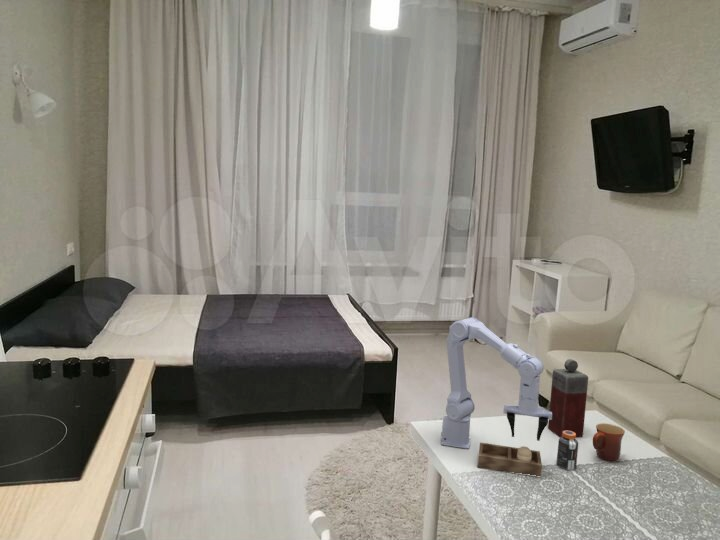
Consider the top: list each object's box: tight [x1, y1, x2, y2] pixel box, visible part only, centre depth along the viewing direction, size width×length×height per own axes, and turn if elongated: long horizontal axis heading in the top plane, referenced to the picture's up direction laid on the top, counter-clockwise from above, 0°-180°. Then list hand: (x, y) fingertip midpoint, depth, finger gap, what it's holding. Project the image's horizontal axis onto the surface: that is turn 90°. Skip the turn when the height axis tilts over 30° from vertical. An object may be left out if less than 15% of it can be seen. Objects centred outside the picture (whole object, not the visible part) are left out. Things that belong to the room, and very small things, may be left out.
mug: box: [592, 422, 626, 463], centre depth 176 cm, size 12×9×10 cm
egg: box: [517, 445, 532, 462], centre depth 168 cm, size 4×4×6 cm
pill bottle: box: [556, 430, 579, 471], centre depth 170 cm, size 6×6×11 cm
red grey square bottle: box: [547, 358, 589, 439], centre depth 196 cm, size 9×11×28 cm
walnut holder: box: [477, 442, 543, 477], centre depth 169 cm, size 19×10×4 cm, turn 75°
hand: (525, 437), depth 167 cm, fingers open, 7 cm apart
